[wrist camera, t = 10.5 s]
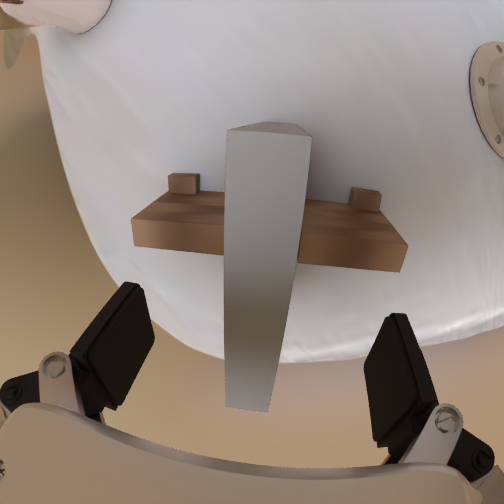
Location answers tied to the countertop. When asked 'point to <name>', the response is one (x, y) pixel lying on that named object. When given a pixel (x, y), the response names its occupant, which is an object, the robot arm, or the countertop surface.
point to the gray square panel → (260, 252)
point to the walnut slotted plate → (311, 238)
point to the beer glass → (52, 14)
